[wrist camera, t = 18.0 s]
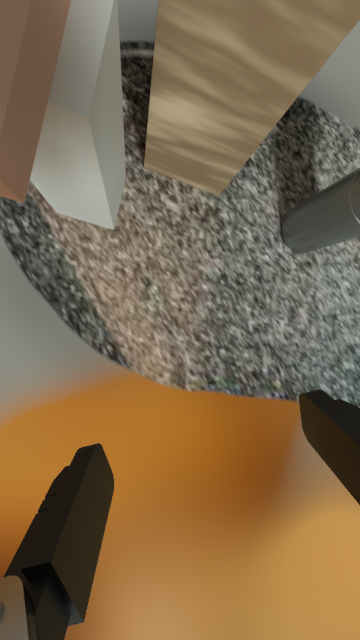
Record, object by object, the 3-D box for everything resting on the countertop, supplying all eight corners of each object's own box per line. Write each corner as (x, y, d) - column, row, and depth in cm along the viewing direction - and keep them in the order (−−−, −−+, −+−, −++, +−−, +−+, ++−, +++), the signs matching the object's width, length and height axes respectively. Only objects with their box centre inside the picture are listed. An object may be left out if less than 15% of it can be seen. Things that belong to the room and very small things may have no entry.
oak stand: (219, 195, 41) (496, -153, 10) (143, 167, 38) (200, -468, 7) (236, 120, 41) (576, -481, 10) (162, 86, 38) (307, -960, 7)
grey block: (114, 229, 38) (88, 117, 15) (56, 212, 36) (-71, 54, 13) (125, 177, 37) (117, -15, 15) (68, 156, 35) (-40, -99, 13)
